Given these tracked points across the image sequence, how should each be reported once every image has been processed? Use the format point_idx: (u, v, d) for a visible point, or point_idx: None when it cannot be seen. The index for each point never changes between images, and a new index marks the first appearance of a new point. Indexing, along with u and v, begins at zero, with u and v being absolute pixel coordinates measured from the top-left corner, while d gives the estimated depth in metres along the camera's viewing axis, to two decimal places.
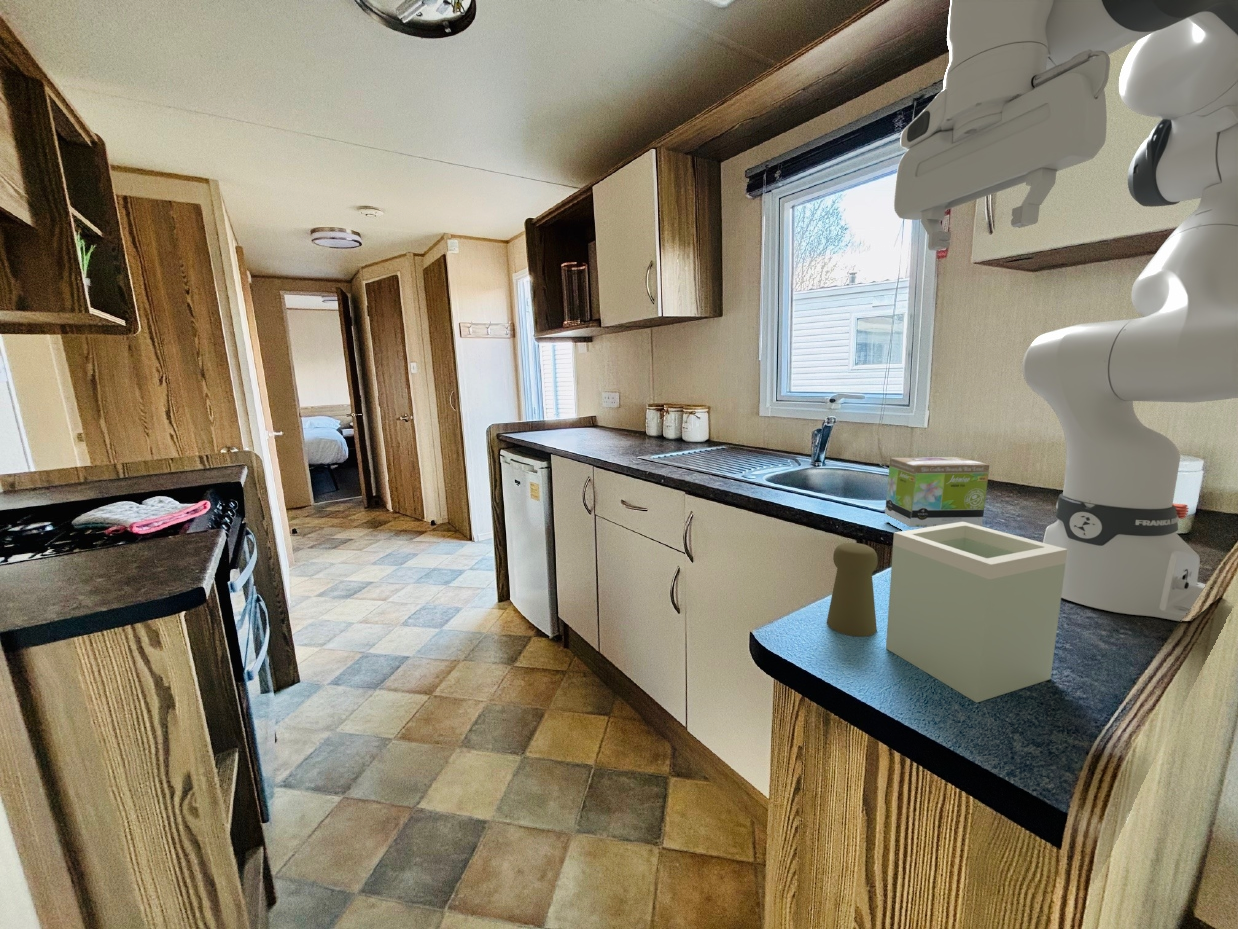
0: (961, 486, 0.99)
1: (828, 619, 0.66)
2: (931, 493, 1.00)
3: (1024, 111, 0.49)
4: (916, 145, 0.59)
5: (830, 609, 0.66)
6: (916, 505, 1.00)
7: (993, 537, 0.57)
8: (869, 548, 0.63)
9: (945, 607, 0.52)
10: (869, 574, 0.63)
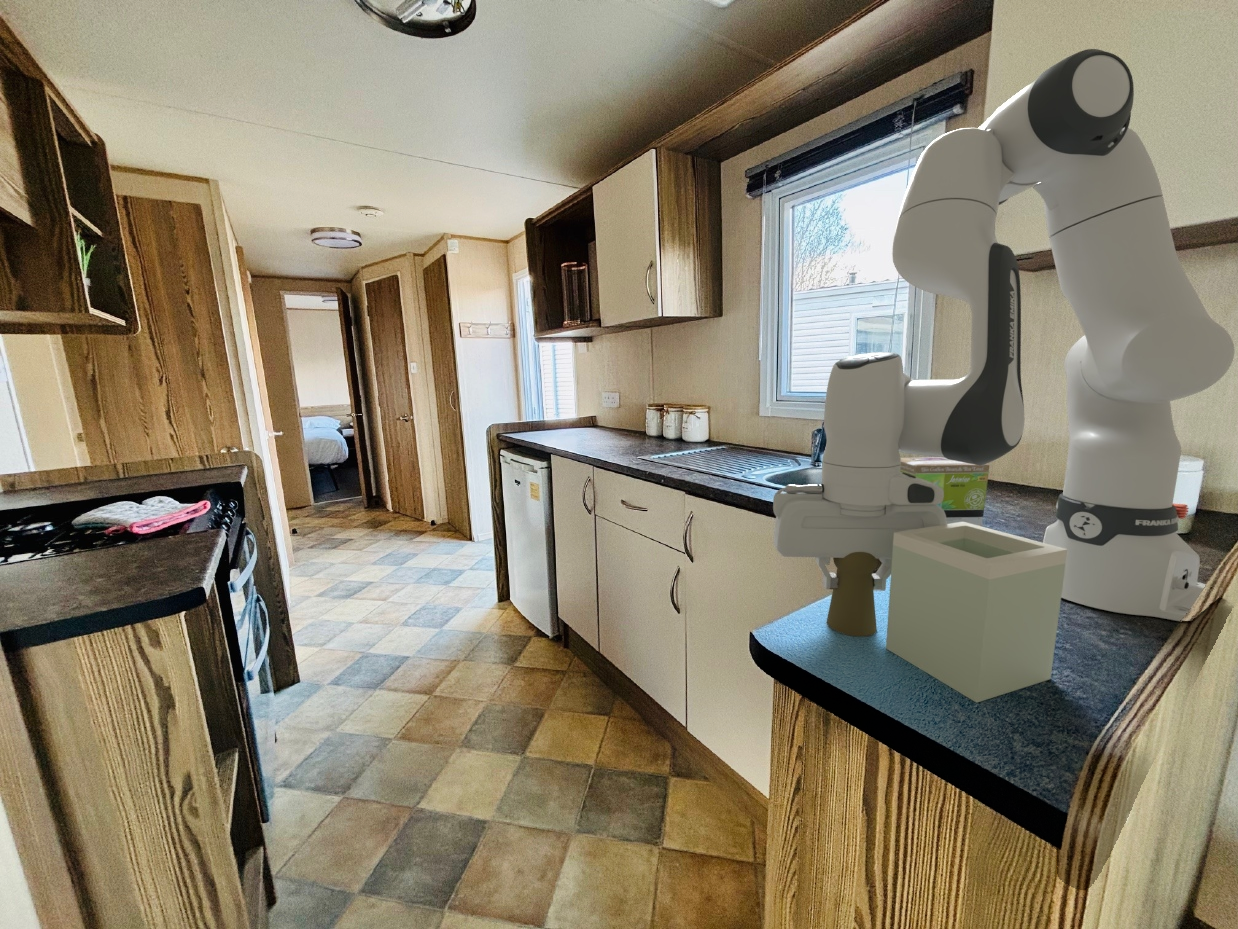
0: (961, 486, 0.99)
1: (828, 619, 0.66)
2: None
3: None
4: None
5: (830, 609, 0.66)
6: None
7: (993, 537, 0.57)
8: None
9: (945, 607, 0.52)
10: (869, 574, 0.63)
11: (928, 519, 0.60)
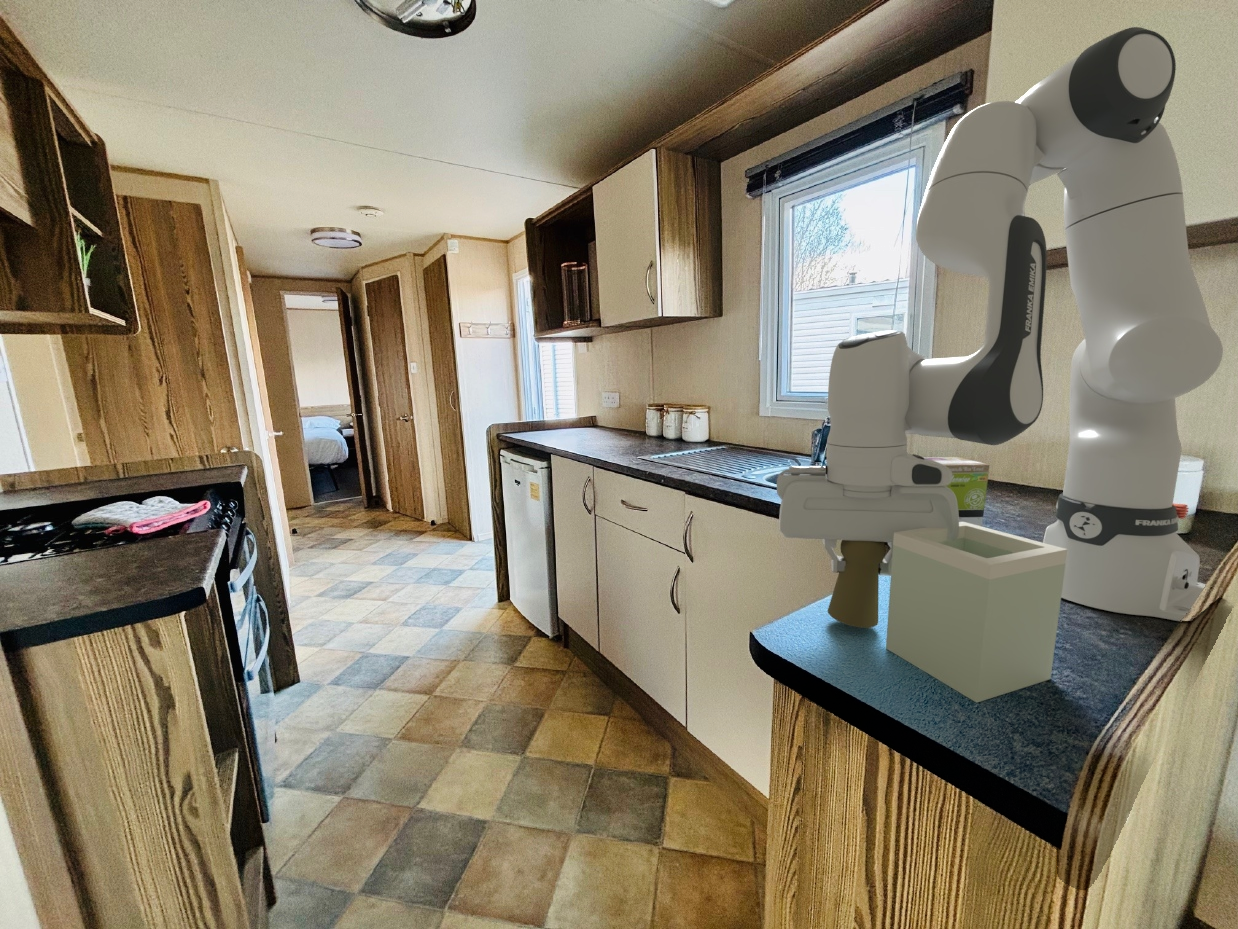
0: (961, 486, 0.99)
1: (829, 607, 0.66)
2: None
3: None
4: None
5: (832, 597, 0.66)
6: None
7: (993, 537, 0.57)
8: None
9: (945, 607, 0.52)
10: (874, 565, 0.62)
11: (938, 501, 0.58)
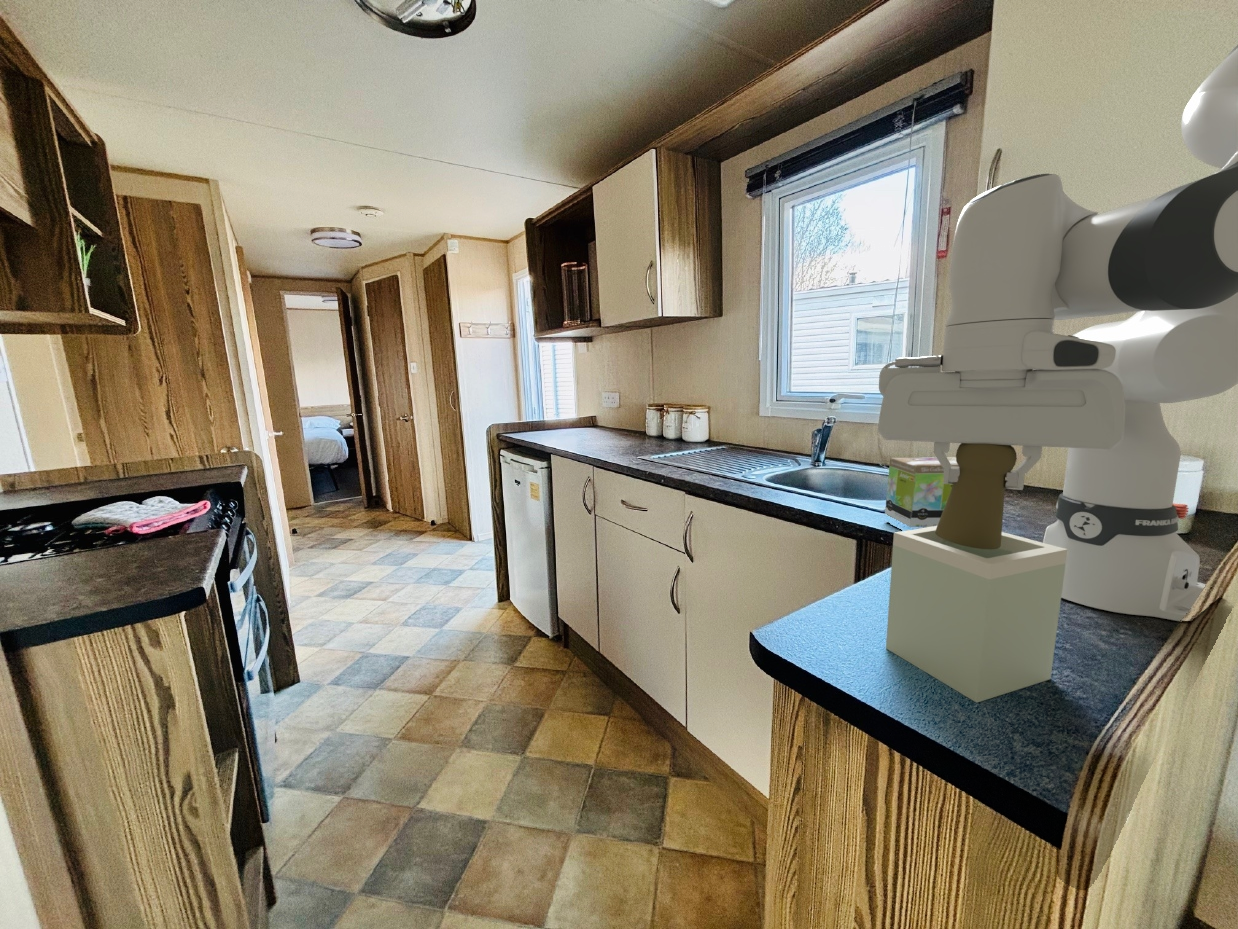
0: None
1: (937, 526, 0.56)
2: (931, 493, 1.00)
3: None
4: None
5: None
6: (916, 506, 1.00)
7: None
8: None
9: (945, 607, 0.52)
10: (997, 475, 0.51)
11: (1093, 391, 0.46)
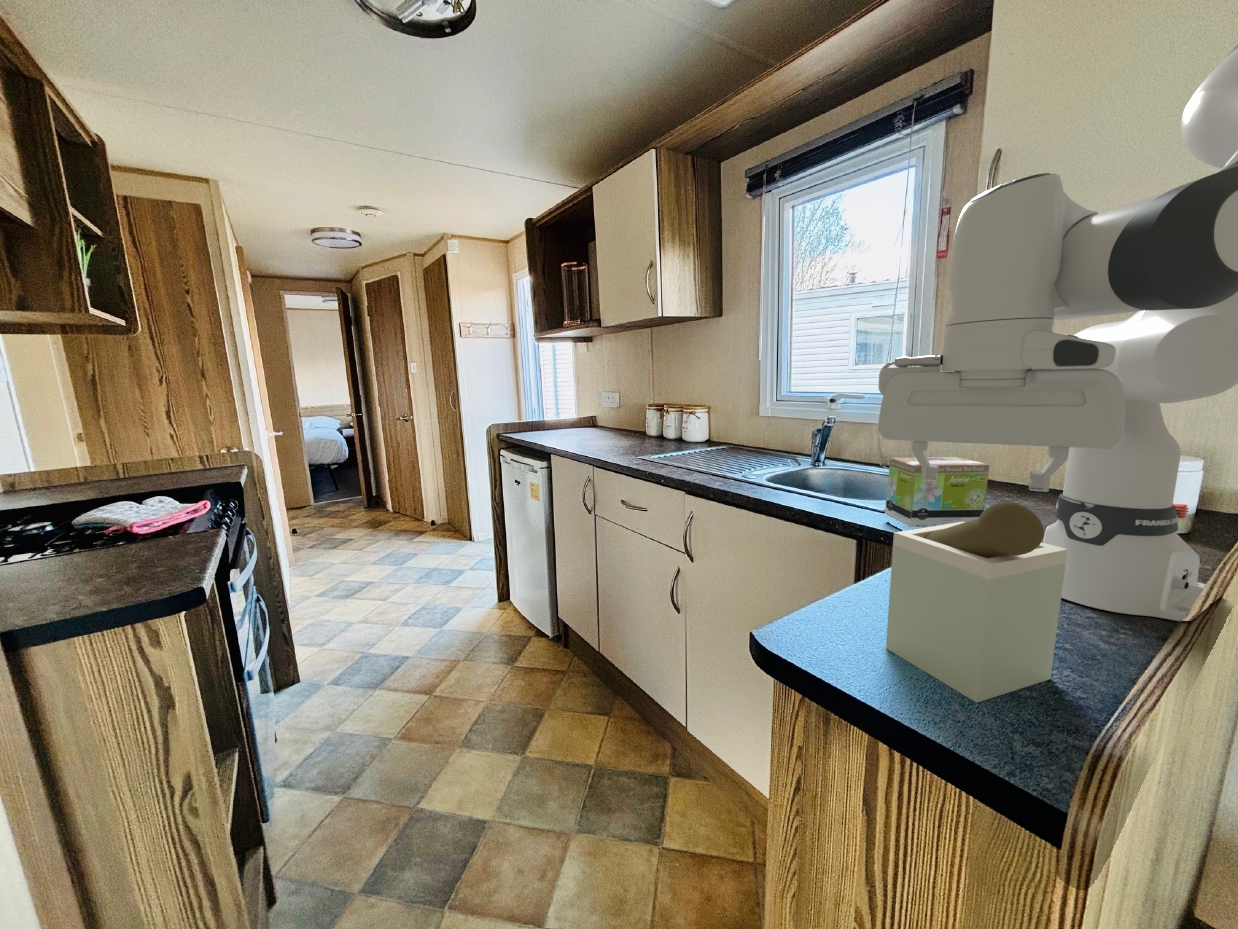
0: (961, 486, 0.99)
1: (927, 538, 0.57)
2: (931, 493, 1.00)
3: None
4: None
5: (937, 535, 0.55)
6: (916, 505, 1.00)
7: None
8: (1036, 536, 0.47)
9: (945, 607, 0.52)
10: None
11: (1093, 391, 0.46)
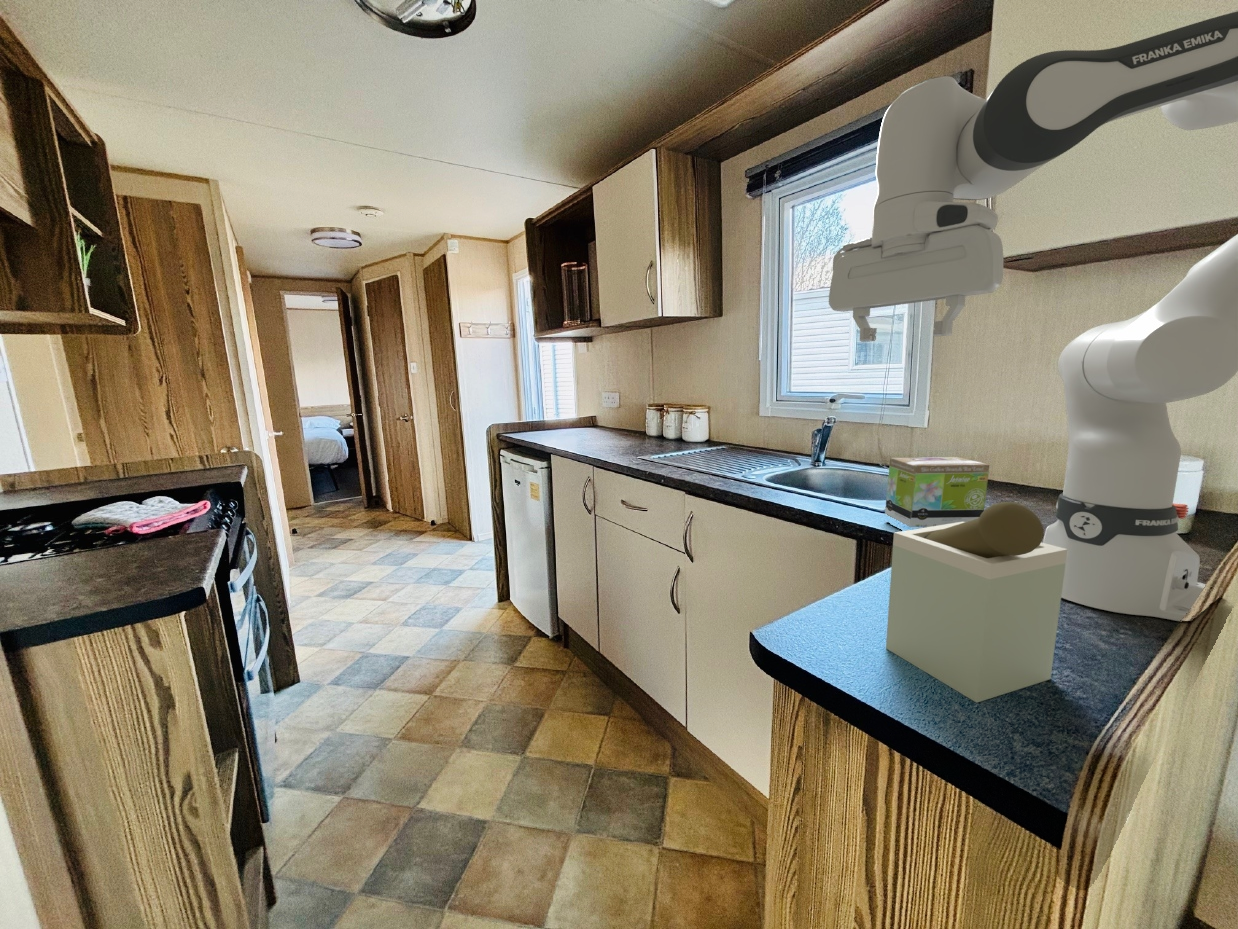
0: (961, 486, 0.99)
1: (927, 538, 0.57)
2: (931, 493, 1.00)
3: None
4: None
5: (937, 535, 0.55)
6: (916, 506, 1.00)
7: None
8: (1036, 536, 0.47)
9: (945, 607, 0.52)
10: None
11: (970, 244, 0.58)
